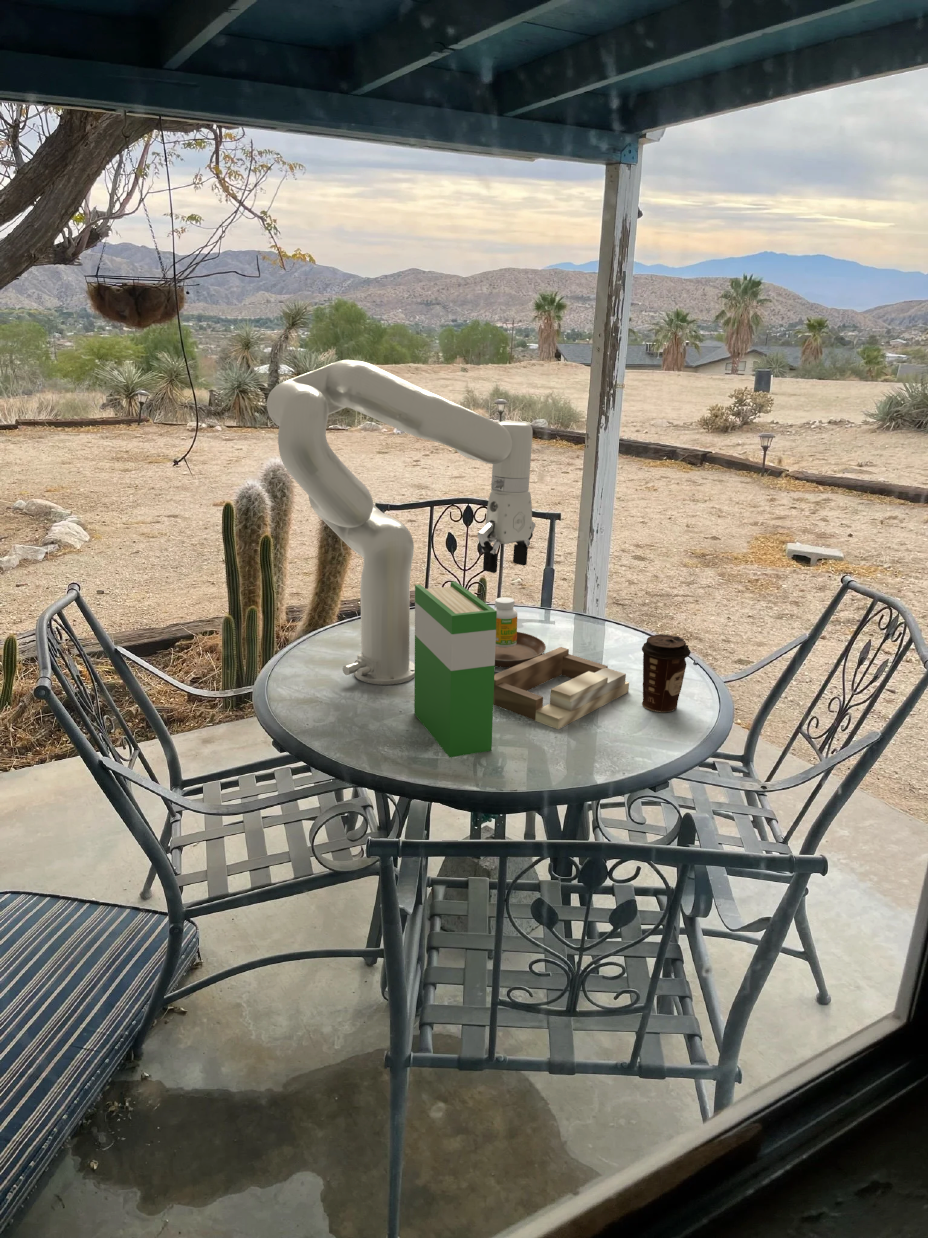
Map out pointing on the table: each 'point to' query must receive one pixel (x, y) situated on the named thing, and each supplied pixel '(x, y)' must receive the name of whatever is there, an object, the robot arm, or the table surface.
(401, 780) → the table surface
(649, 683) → the coffee cup
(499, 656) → the plant saucer
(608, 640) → the table surface
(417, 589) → the hardback book
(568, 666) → the frame
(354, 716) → the table surface
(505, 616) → the supplement bottle
